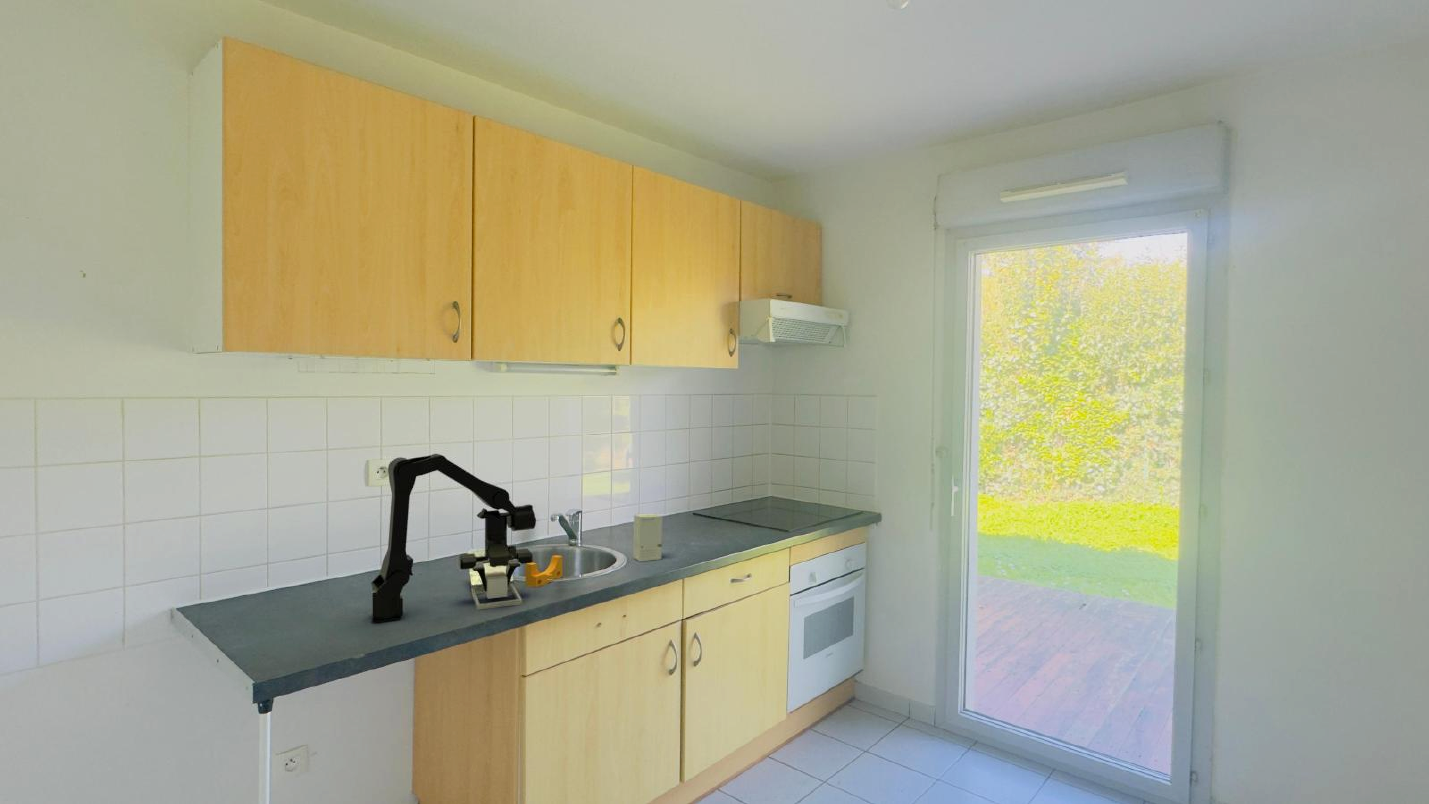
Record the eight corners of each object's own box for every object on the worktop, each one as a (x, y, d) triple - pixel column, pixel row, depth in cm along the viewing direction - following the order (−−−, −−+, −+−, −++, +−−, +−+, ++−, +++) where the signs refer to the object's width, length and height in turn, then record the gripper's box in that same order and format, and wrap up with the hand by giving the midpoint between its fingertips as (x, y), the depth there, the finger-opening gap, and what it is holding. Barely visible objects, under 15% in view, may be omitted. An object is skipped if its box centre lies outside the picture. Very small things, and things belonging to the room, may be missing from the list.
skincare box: (639, 562, 232) (639, 517, 231) (632, 558, 237) (632, 514, 237) (662, 559, 236) (663, 515, 235) (655, 555, 241) (655, 512, 241)
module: (487, 598, 188) (487, 579, 188) (484, 591, 194) (484, 572, 194) (507, 596, 190) (507, 577, 190) (503, 589, 196) (503, 570, 196)
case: (477, 609, 183) (476, 575, 183) (467, 581, 208) (467, 551, 208) (521, 604, 188) (521, 570, 188) (507, 577, 213) (507, 547, 212)
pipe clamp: (535, 588, 203) (535, 565, 203) (525, 585, 206) (525, 563, 205) (566, 578, 213) (566, 557, 213) (556, 576, 216) (556, 555, 215)
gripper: (462, 542, 180) (462, 603, 181) (536, 536, 188) (536, 594, 189) (458, 533, 190) (458, 591, 191) (529, 528, 198) (528, 583, 199)
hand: (495, 590), depth 192 cm, fingers closed on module, 5 cm apart
